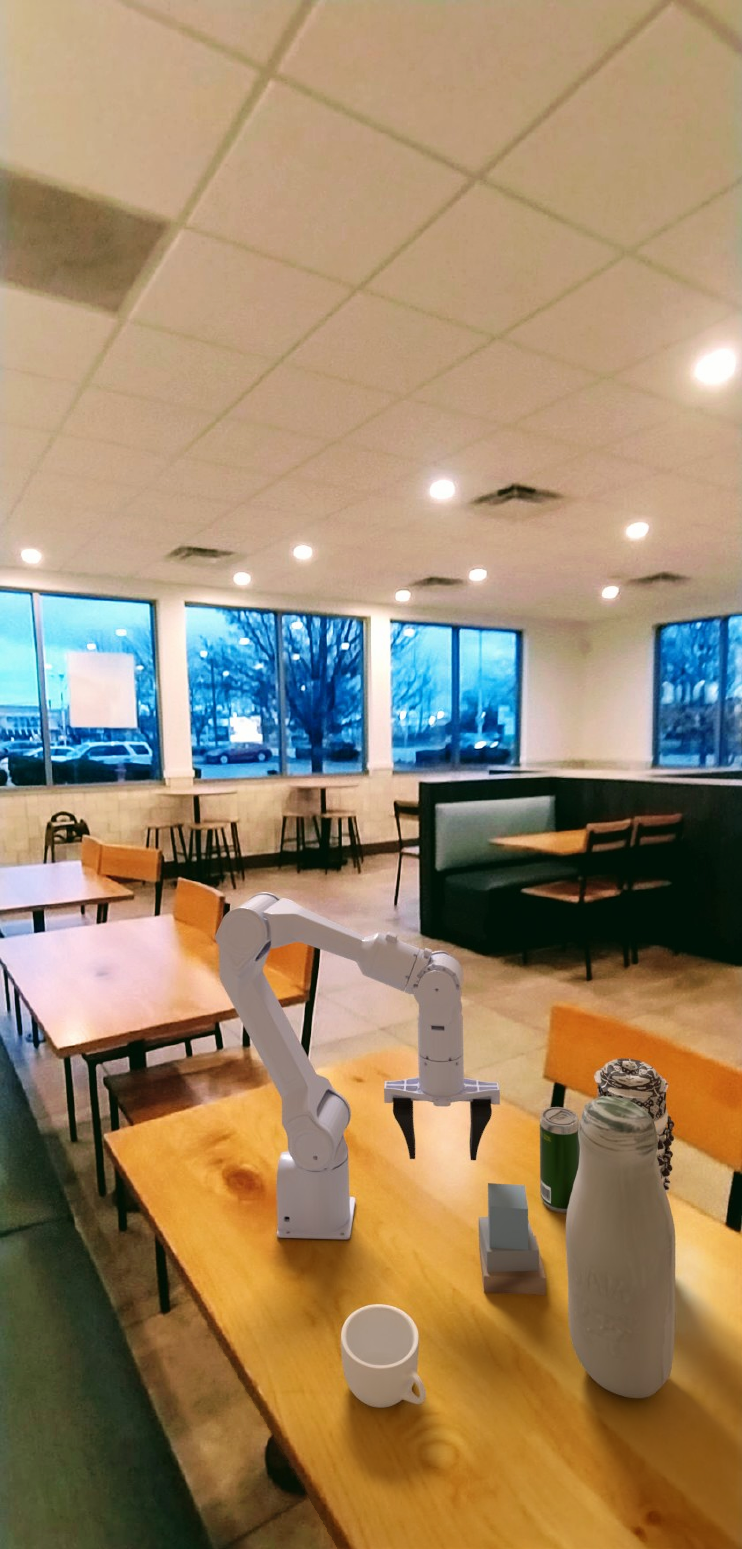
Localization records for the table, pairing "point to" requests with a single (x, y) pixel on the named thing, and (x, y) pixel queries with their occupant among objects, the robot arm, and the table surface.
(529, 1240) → the grey middle block
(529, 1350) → the table surface
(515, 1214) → the slate blue block
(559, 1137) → the beer can
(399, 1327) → the teacup
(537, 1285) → the walnut base block
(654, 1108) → the decorative candle
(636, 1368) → the glass bottle
